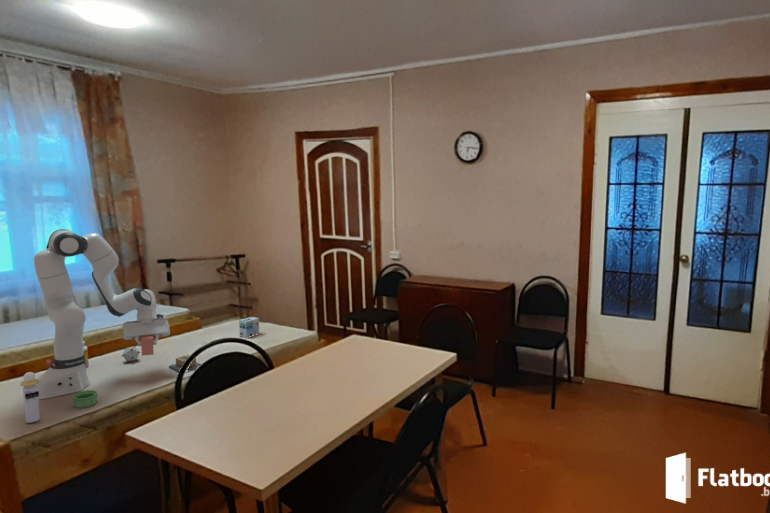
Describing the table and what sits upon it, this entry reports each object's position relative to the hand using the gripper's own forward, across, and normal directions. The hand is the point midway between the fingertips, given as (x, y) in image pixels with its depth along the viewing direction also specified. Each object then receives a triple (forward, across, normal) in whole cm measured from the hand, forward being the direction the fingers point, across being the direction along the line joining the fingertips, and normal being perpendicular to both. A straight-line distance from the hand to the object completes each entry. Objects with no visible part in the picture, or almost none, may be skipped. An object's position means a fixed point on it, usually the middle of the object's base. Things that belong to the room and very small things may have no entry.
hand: (147, 344), depth 227 cm
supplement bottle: (-10, -31, +34) cm, 47 cm away
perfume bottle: (+34, -40, -9) cm, 53 cm away
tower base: (+6, +17, +17) cm, 25 cm away
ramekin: (+27, -24, -2) cm, 36 cm away
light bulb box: (-25, +57, +46) cm, 78 cm away
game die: (-9, -8, +32) cm, 34 cm away
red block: (+3, 0, +4) cm, 4 cm away
